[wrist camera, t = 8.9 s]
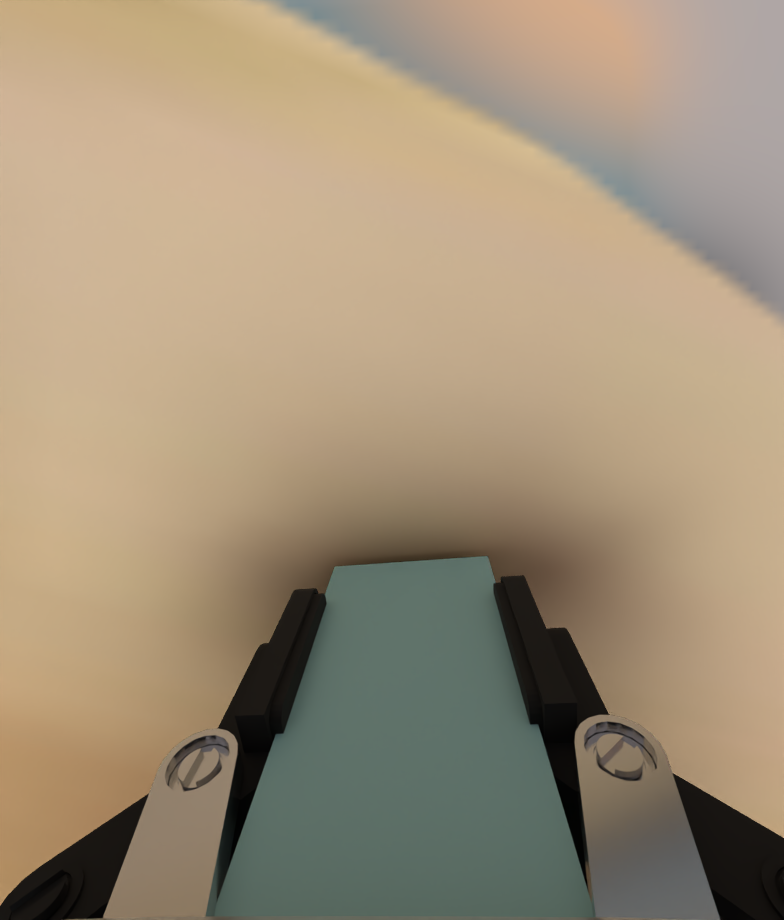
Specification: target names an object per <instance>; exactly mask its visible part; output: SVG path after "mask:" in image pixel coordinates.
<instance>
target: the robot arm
mask: <svg viewBox="0 0 784 920" xmlns="http://www.w3.org/2000/svg"><path fill="white" fill-rule="evenodd" d="M493 591H494V596H495V600H496V604H497V607H498V611H499V614H500V618H501V622H502V625H503V629H504V632H505V636H506V640H507V643H508V647H509V650H510V654H511V658H512V661H513V665H514V668H515V672H516V676H517V679H518V683H519V686H520V690H521V694H522V697H523V701H524V704H525V708H526V712H527V715H528V719H529V722H530V725H531V724H538V726H539V729H540V732H541V736H542V739H543V742H544V746H545V749H546V752H547V756H548V759H549V762H550V766H551V769H552V772H553V776H554V779H555V782H556V786H557V789H558V792H559V796H560V799H561V802H562V806H563V809H564V812H565V816H566V819H567V823H568V826H569V829H570V833H571V836H572V839H573V843H574V846H575V849H576V853H577V856H578V859H579V863H580V866H581V869H582V873H583V876H584V879H585V883H586V886H587V889H588V893H589V896H590V899H591V903H592V911H593V917H484V916H219V917H214V915H215V909H216V904H217V900H218V898H219V895H220V892H221V889H222V886H223V883H224V880H225V878H226V875H227V872H228V869H229V866H230V863H231V860H232V858H233V855H234V852H235V849H236V846H237V843H238V841H239V838H240V835H241V832H242V829H243V826H244V823H245V821H246V818H247V815H248V812H249V809H250V806H251V804H252V801H253V798H254V795H255V792H256V789H257V786H258V784H259V781H260V778H261V775H262V772H263V769H264V766H265V764H266V761H267V758H268V755H269V752H270V749H271V747H272V744H273V741H274V738H275V735H276V734H284V731H285V728H286V725H287V722H288V719H289V716H290V713H291V710H292V707H293V704H294V701H295V698H296V695H297V692H298V689H299V686H300V683H301V680H302V677H303V674H304V671H305V668H306V665H307V661H308V658H309V655H310V652H311V649H312V646H313V643H314V640H315V637H316V634H317V631H318V628H319V625H320V622H321V619H322V616H323V613H324V610H325V607H326V604H327V602H326V597H325V595H324V594H318V591H317V589H316V588H315V589H299V590H294V592H293V593H292V595H291V598H290V600H289V602H288V604H287V606H286V608H285V610H284V612H283V614H282V617H281V619H280V621H279V623H278V625H277V627H276V629H275V631H274V634H273V636H272V638H271V640H270V642H269V643H263V644H262V645H260V646H259V648H258V649H257V651H256V653H255V655H254V657H253V659H252V661H251V663H250V665H249V667H248V669H247V671H246V673H245V675H244V677H243V679H242V681H241V683H240V685H239V687H238V689H237V691H236V693H235V695H234V697H233V699H232V701H231V703H230V705H229V707H228V709H227V711H226V713H225V715H224V717H223V719H222V721H221V723H220V725H219V727H218V729H207V730H204V731H201V732H198V733H195V734H193V735H191V736H190V737H188V738H186V739H184V740H183V741H181V742H180V743H179V744H178V745H177V746H175V747H174V748H173V749H172V750H171V751H170V752H169V754H168V755H167V756H166V757H165V758H164V760H163V761H162V763H161V765H160V767H159V769H158V771H157V774H156V776H155V779H154V782H153V785H152V787H151V790H150V793H149V794H148V795H146V796H145V797H143V798H142V799H140V800H139V801H137V802H136V803H134V804H133V805H131V806H130V807H128V808H127V809H125V810H124V811H122V812H121V813H119V814H118V815H116V816H115V817H113V818H112V819H110V820H109V821H107V822H106V823H104V824H103V825H101V826H100V827H98V828H97V829H95V830H94V831H92V832H91V833H89V834H88V835H86V836H85V837H83V838H82V839H81V840H79V841H78V842H76V843H75V844H73V845H72V846H70V847H69V848H67V849H66V850H64V851H63V852H61V853H60V854H58V855H57V856H55V857H54V858H52V859H51V860H49V861H48V862H46V863H45V864H43V865H42V866H40V867H39V868H38V869H36V870H35V871H34V872H32V873H31V874H30V875H29V876H27V877H26V878H25V879H24V880H22V881H21V882H20V883H19V884H18V886H17V887H16V888H15V889H14V890H13V891H12V892H11V893H10V894H9V895H8V896H7V897H6V899H5V900H4V901H3V903H2V904H1V906H0V920H784V838H783V837H781V836H779V835H778V834H776V833H774V832H772V831H771V830H769V829H767V828H766V827H764V826H762V825H760V824H759V823H757V822H755V821H754V820H752V819H750V818H749V817H747V816H745V815H743V814H742V813H740V812H738V811H737V810H735V809H733V808H731V807H730V806H728V805H726V804H725V803H723V802H721V801H720V800H718V799H716V798H714V797H713V796H711V795H709V794H708V793H706V792H704V791H702V790H701V789H699V788H697V787H696V786H694V785H692V784H691V783H689V782H687V781H685V780H684V779H682V778H680V777H679V776H677V775H675V774H673V773H672V770H671V767H670V764H669V761H668V758H667V755H666V754H665V752H664V750H663V748H662V746H661V744H660V743H659V742H658V741H657V739H656V738H655V737H654V736H653V735H652V734H651V733H650V732H649V731H647V730H646V729H644V728H643V727H642V726H640V725H639V724H637V723H635V722H633V721H630V720H628V719H626V718H623V717H618V716H614V715H609V714H608V712H607V710H606V708H605V706H604V704H603V701H602V699H601V697H600V695H599V693H598V691H597V689H596V687H595V685H594V683H593V681H592V679H591V677H590V675H589V673H588V671H587V669H586V667H585V665H584V662H583V660H582V658H581V656H580V654H579V652H578V650H577V648H576V646H575V644H574V642H573V640H572V638H571V636H570V634H569V632H568V631H567V629H566V628H550V629H546V627H545V625H544V622H543V620H542V617H541V615H540V613H539V610H538V608H537V606H536V603H535V601H534V598H533V596H532V594H531V591H530V589H529V586H528V584H527V582H526V579H525V577H524V576H523V575H522V576H506V577H501V583H494V584H493Z"/></svg>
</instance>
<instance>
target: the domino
mask: <svg viewBox="0 0 784 920" xmlns="http://www.w3.org/2000/svg"><path fill="white" fill-rule="evenodd" d="M494 583H496V582H495V578H494V575H493V572H492V568H491V565H490V562H489V558H488V556H480V557H466V558H451V559H437V560H422V561H408V562H393V563H379V564H365V565H350V566H336V567H334V570H333V573H332V576H331V578H330V581H329V584H328V587H327V590H326V593H325V597H326V602H327V604H326V607H325V610H324V613H323V616H322V619H321V622H320V625H319V628H318V631H317V634H316V637H315V640H314V643H313V646H312V649H311V652H310V655H309V658H308V661H307V665H306V668H305V671H304V674H303V677H302V680H301V683H300V686H299V689H298V692H297V695H296V698H295V701H294V704H293V707H292V710H291V713H290V716H289V719H288V722H287V725H286V728H285V731H284V734H276V735H275V738H274V741H273V744H272V747H271V749H270V752H269V755H268V758H267V761H266V764H265V766H264V769H263V772H262V775H261V778H260V781H259V784H258V786H257V789H256V792H255V795H254V798H253V801H252V804H251V806H250V809H249V812H248V815H247V818H246V821H245V823H244V826H243V829H242V832H241V835H240V838H239V841H238V843H237V846H236V849H235V852H234V855H233V858H232V860H231V863H230V866H229V869H228V872H227V875H226V878H225V880H224V883H223V886H222V889H221V892H220V895H219V898H218V900H217V904H216V909H215V915H214V917H219V916H484V917H593V911H592V903H591V899H590V896H589V893H588V889H587V886H586V883H585V879H584V876H583V873H582V869H581V866H580V863H579V859H578V856H577V853H576V849H575V846H574V843H573V839H572V836H571V833H570V829H569V826H568V823H567V819H566V816H565V812H564V809H563V806H562V802H561V799H560V796H559V792H558V789H557V786H556V782H555V779H554V776H553V772H552V769H551V766H550V762H549V759H548V756H547V752H546V749H545V746H544V742H543V739H542V736H541V732H540V729H539V726H538V724H531V725H530V722H529V719H528V715H527V712H526V708H525V704H524V701H523V697H522V694H521V690H520V686H519V683H518V679H517V676H516V672H515V668H514V665H513V661H512V658H511V654H510V650H509V647H508V643H507V640H506V636H505V632H504V629H503V625H502V622H501V618H500V614H499V611H498V607H497V604H496V600H495V596H494V591H493V584H494Z"/></svg>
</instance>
